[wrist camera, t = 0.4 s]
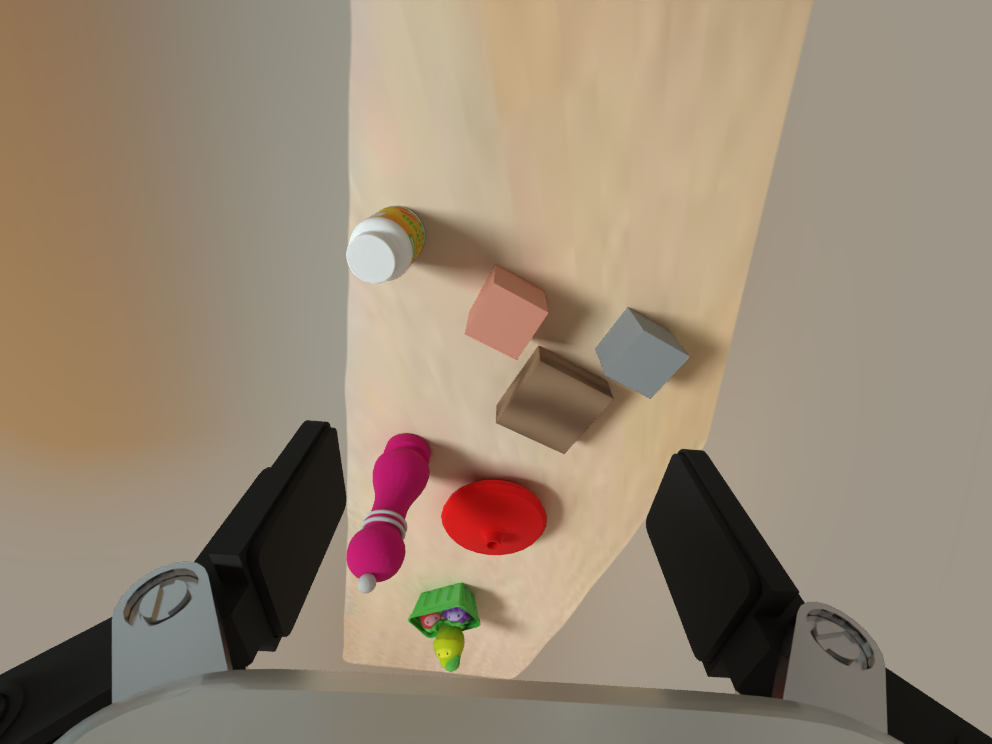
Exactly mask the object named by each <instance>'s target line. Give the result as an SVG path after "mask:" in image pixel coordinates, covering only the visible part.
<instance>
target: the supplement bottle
mask: <svg viewBox="0 0 992 744" xmlns="http://www.w3.org/2000/svg"><path fill="white" fill-rule="evenodd" d="M424 243H425V230H424V227H423V224H422V222H421V221H420V219H419V218H418V217H417V215H416V214H415V213H413V212H412V211H411V210H409V209H407V208H405V207H401V206H390V207H387V208H384V209H382V210H380V211H379V212H377V213H376V214H374V215H372V216H370V217H369V218H367V219H365V220H364V221H362V222H361V223H360V224H359V225H357V227H356V228H355V229H354V231H353V232H352V235H351V238H350V244H349V245H348V248H347V252H346V258H347V262H348V265H349V267H350V269H351V271H352V272H353V273H354V274H355V275H356V276H357V277H358V278H359V279H361V280H363V281H365V282H368V283H373V284H378V283H382V282H385V281H390V280H394V279H396V278H399V277H400V276H402V275H403V274H404V273H405V272H406V271H407V270H408V268H409V267H410V266H411V264H412V263H413V261H414V260H415V259H416V258H417V256H418V255H419V254H420V252H421V251H422V249H423V247H424Z"/></svg>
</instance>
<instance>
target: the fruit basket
mask: <svg viewBox="0 0 992 744" xmlns="http://www.w3.org/2000/svg"><path fill="white" fill-rule="evenodd" d="M408 621H409V622H410V623H411V624H412V625H413V626H415V627H416V628H417V629H418V630H419V631H420V632H421V633H422V634H424V635H425V636H426V637H428V638H434V637H436V639H435V640H434V642H433V647H434V651H435V654H436V655H437V657H438V658H439V660H440V663H441V665H442V666H443V667H444V668H445V669H446V670H448V671H450V672H451V671H455V670H456V669H457V668H458V667H459V664H460V658H461V654H462V651H463V648H464V635H463V633H462V631H464V630H468V629H472V628H476V627H479V626H480V619H479V617H478V613H477V607H476V602H475V597H474V595H473V594H471V592H470V591H469V590H468V589H467V588H466V587H465V586H464V585H463V583H458V584H455V585H452V586H447V587H443V588H442V589H435V590H432V591H431V592H424V593H421V595H420V597H419V600H418V602H417V604H416V606H415V608H414V610H413V612H412V614H411V615H410V617H409V619H408Z"/></svg>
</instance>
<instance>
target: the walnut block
mask: <svg viewBox="0 0 992 744" xmlns="http://www.w3.org/2000/svg"><path fill="white" fill-rule="evenodd" d="M613 399H614V398H613V396H612V393H611V391H610V388H609V386H608V383H607V382H606V381H605V380H603V379H601V378H599V377H597V376H595V375H593V374H591V373H589V372H587V371H585V370H584V369H582V368H580V367H578V366H576V365H574V364H572V363H570V362H568V361H566V360H565V359H563V358H561V357H559V356H557V355H555V354H553V353H551V352H549V351H547V350H545V349H544V348H542V347H540V346H538V347H537V348H536V350H535V351H534V353H533V354H532V356H531V357H530V358H529V360H528V361H527V363H526V364H525V365H524V367H523V368H522V370H521V371H520V373H519V374H518V375H517V377H516V378H515V380H514V381H513V383H512V384H511V385H510V387H509V388H508V390H507V391H506V393H505V394H504V395H503V397H502V398H501V400H500V401H499V403H498V404H497V411H496V423H497V424H499V425H502V426H504V427H506V428H508V429H510V430H513V431H515V432H517V433H519V434H521V435H524V436H526V437H528V438H530V439H532V440H534V441H537V442H539V443H541V444H543V445H545V446H548V447H550V448H552V449H554V450H556V451H559V452H561V453H563V454H565V453H566V452H567V451H568V450H569V448H570V447H571V446H572V445H573V444H574V443H575V442H576V441H577V439H578V438H579V437H580V436H581V435H582V434H583V433H584V432H585V430H586V429H587V428H588V427H589V426H590V425H591V424H592V423H593V421H594V420H595V419H596V418H597V417H598V416H599V415H600V414H601V412H602V411H603V410H604V409H605V408H606V407H607V406H608V405H609V404H610V402H611V401H612V400H613Z"/></svg>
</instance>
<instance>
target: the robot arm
mask: <svg viewBox="0 0 992 744" xmlns="http://www.w3.org/2000/svg"><path fill="white" fill-rule="evenodd" d="M345 506H346V491H345V484H344V477H343V470H342V463H341V457H340V450H339V443H338V437H337V431H336V429H335V428H331V427H330V424H329V423H328V422H322V421H309V420H307V421H305V422H304V423H303V424H302V425H301V426H300V428H299V429H298V431H297V432H296V433H295V435H294V436H293V438H292V439H291V440H290V442H289V443H288V444H287V446H286V447H285V449H284V450H283V451H282V453H281V454H280V456H279V457H278V459H277V460H276V461H275V463H274V464H273V465H272V467H268V468H266V469H264V470H263V471H262V472H261V473H260V474H259V475H258V477H257V478H256V479H255V481H254V482H253V483H252V485H251V486H250V488H249V489H248V490H247V492H246V493H245V494H244V496H243V497H242V498H241V500H240V501H239V502H238V504H237V505H236V506H235V508H234V509H233V510H232V512H231V513H230V514H229V516H228V517H227V518H226V520H225V521H224V522H223V524H222V525H221V526H220V528H219V529H218V530H217V532H216V533H215V535H214V536H213V537H212V539H211V540H210V541H209V543H208V544H207V545H206V547H205V548H204V549H203V551H202V552H201V553H200V555H199V556H198V558H197V559H196V560H195V561H194V562H187V561H185V562H177V563H172V564H169V565H166V566H163V567H160V568H158V569H156V570H154V571H152V572H150V573H148V574H147V575H145V576H144V577H143V578H141V579H140V580H138V581H137V582H136V583H134V584H133V585H132V586H131V587H130V588H129V589H128V590H127V591H126V592H125V593H124V595H122V597H121V598H120V600H119V602H118V604H117V605H116V607H115V609H114V613H113V617H111V618H109V619H107V620H105V621H103V622H101V623H99V624H97V625H96V626H94V627H92V628H90V629H88V630H86V631H84V632H82V633H80V634H78V635H76V636H74V637H73V638H70V639H68V640H67V641H65V642H63V643H61V644H59V645H57V646H55V647H53V648H51V649H49V650H47V651H45V652H43V653H41V654H39V655H38V656H36V657H34V658H32V659H30V660H28V661H26V662H24V663H22V664H20V665H18V666H16V667H14V668H12V669H11V670H9V671H7V672H5V673H3V674H1V675H0V744H992V738H991V737H989V736H988V735H986V734H984V733H983V732H982V731H980V730H979V729H977V728H976V727H974V726H973V725H971V724H970V723H968V722H967V721H965V720H963V719H962V718H960V717H959V716H958V715H956V714H954V713H953V712H952V711H950V710H949V709H947V708H946V707H944V706H943V705H941V704H940V703H938V702H937V701H935V700H934V699H932V698H931V697H929V696H928V695H926V694H925V693H923V692H922V691H920V690H919V689H917V688H916V687H914V686H913V685H911V684H909V683H908V682H907V681H905V680H904V679H902V678H901V677H899V676H898V675H896V674H895V673H893V672H892V671H890V670H889V669H887V668H886V667H885V663H884V658H883V655H882V653H881V651H880V649H879V647H878V646H877V644H876V642H875V641H874V640H873V638H872V637H871V636H870V635H869V634H868V632H867V631H866V630H864V628H863V627H861V626H860V625H859V624H858V623H857V622H856V621H855V620H854V619H852V618H851V617H849V616H848V615H846V614H845V613H843V612H842V611H840V610H838V609H836V608H834V607H832V606H830V605H827V604H823V603H819V602H807V603H804V601H803V600H802V598H801V597H800V595H799V594H798V593H799V591H798V589H797V588H796V586H795V585H794V583H793V582H792V580H791V579H790V577H789V576H788V574H787V573H786V571H785V570H784V569H783V567H782V565H781V564H780V562H779V561H778V559H777V558H776V556H775V555H774V553H773V552H772V550H771V549H770V548H769V546H768V545H767V543H766V541H765V540H764V538H763V537H762V536H761V534H760V533H759V531H758V529H757V528H756V526H755V525H754V524H753V522H752V521H751V519H750V518H749V516H748V515H747V513H746V512H745V510H744V509H743V507H742V506H741V504H740V503H739V501H738V500H737V498H736V497H735V495H734V494H733V492H732V491H731V489H730V488H729V486H728V485H727V483H726V482H725V480H724V479H723V477H722V476H721V474H720V473H719V471H718V470H717V468H716V467H715V465H714V464H713V462H712V461H711V459H710V458H709V456H708V455H707V454H706V453H705V452H704V451H702V450H689V449H681V450H680V451H679V452H678V453H677V454H673V455H672V457H671V459H670V462H669V464H668V467H667V469H666V472H665V474H664V477H663V479H662V482H661V484H660V486H659V489H658V491H657V494H656V496H655V499H654V501H653V504H652V506H651V508H650V511H649V513H648V516H647V519H646V528H647V532H648V535H649V538H650V540H651V543H652V545H653V548H654V551H655V553H656V556H657V559H658V561H659V564H660V566H661V569H662V572H663V575H664V577H665V580H666V582H667V585H668V587H669V590H670V593H671V596H672V598H673V601H674V604H675V606H676V608H677V611H678V614H679V616H680V619H681V622H682V625H683V627H684V630H685V633H686V635H687V638H688V640H689V643H690V646H691V648H692V651H693V653H694V655H695V657H696V658H697V659H698V660H699V661H702V663H703V665H704V668H705V670H706V673H707V675H708V677H725V678H730V679H731V681H732V683H733V686H734V688H735V690H736V691H735V694H726V693H714V692H701V691H688V690H672V689H671V690H670V689H656V688H640V687H622V686H607V685H591V684H573V683H556V682H539V681H538V682H537V681H521V680H503V679H485V678H467V677H449V676H429V675H409V674H389V673H370V672H350V671H321V670H320V671H319V670H289V669H252V670H251V669H250V670H249V669H248V665H250V664H251V663H252V662H253V660H254V658H255V656H256V654H257V652H258V651H272V652H274V651H276V649H277V647H278V644H279V642H280V640H281V638H282V637H287V636H288V635H289V634H290V633H291V631H292V629H293V627H294V625H295V622H296V620H297V618H298V615H299V613H300V611H301V608H302V606H303V604H304V602H305V599H306V597H307V594H308V592H309V590H310V588H311V585H312V583H313V581H314V579H315V576H316V574H317V572H318V569H319V567H320V565H321V562H322V560H323V558H324V555H325V553H326V551H327V549H328V546H329V544H330V542H331V539H332V537H333V535H334V532H335V530H336V528H337V525H338V523H339V521H340V519H341V516H342V514H343V512H344V509H345Z"/></svg>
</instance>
